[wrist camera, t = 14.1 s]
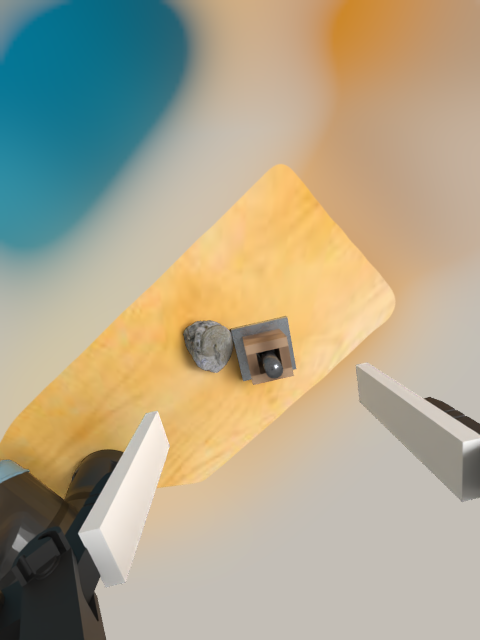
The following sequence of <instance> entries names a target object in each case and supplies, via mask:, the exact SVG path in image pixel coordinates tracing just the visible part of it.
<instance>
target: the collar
mask: <svg viewBox="0 0 480 640" xmlns="http://www.w3.org/2000/svg"><path fill="white" fill-rule="evenodd" d="M242 338H243V343H244V347H245V352H246V356H247V361H248V365H249V370H250V374H251V378H252V382H253V385H255V384H259V383H264V382H268V381H273V380H277V379H281V378H286V377H290V376H294V375H293V369H292V363H291V357H290V352H289V346H288V340H287V336H286V335H285V334H284V333H283V332H282V331H281V330H280V329H275V330H271V331H266V332H262V333H257V334H253V335H248V336H244V337H242ZM272 349H275V354H276V356H277V358H278V360H279V361H280V363H281V365H282V367H283V373H282V375H281V376H280V377H278V378H270V377H268V376H267V374H266V371H265V369H264V366H263V364H262V361H258V360H257V356H256V353H259V352H263V351H268V350H272Z"/></svg>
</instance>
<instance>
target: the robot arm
mask: <svg viewBox="0 0 480 640" xmlns="http://www.w3.org/2000/svg"><path fill="white" fill-rule="evenodd" d="M356 372H357V381H358V391H359V400H360V403H361V404H363V406H364V407H365V408H367V410H369V411H370V412H371V413H372V414H373V415H374V416H375V417H376V418H377V419H378V420H379V421H380V422H381V423H382V424H383V425H384V426H385V427H386V428H387V429H388V430H389V431H390V432H391V433H392V434H393V435H394V436H395V437H396V438H397V439H398V440H399V441H401V443H402V444H403V445H404V446H405V447H406V448H407V449H409V450H410V452H412V453H413V454H414V455H415V456H416V457H417V458H418V459H419V460H420V461H421V462H422V463H423V464H424V465H425V466H426V467H427V468H428V469H429V470H430V471H431V472H432V473H433V474H434V475H435V476H436V477H437V478H438V479H439V480H440V481H441V482H442V483H443V484H444V485H445V486H446V487H447V488H448V489H450V491H452V493H454V494H455V495H456V496H457V497H458V498H459V499H460V500H461V501H462V502H463V501H468V500H472V499H476V498H480V424H479V423H477V422H476V421H474V420H472V419H471V418H469V417H467V416H465V415H464V414H463V413H461V412H459V411H458V410H455V409H454V408H453V407H451V406H449V405H448V404H446V403H444V402H442V401H439V400H436V399H434V398H431V397H428V398H422V397H420V396H419V395H417V394H416V393H414V392H412V391H411V390H409V389H408V388H406V387H405V386H403V385H402V384H400V383H399V382H397V381H395V380H394V379H392V378H391V377H389V376H387V375H386V374H385V373H383V372H381V371H380V370H378V369H377V368H375V367H374V366H372V365H370V364H369V363H362V364H358V365H356ZM169 447H170V445H169V442H168V439H167V437H166V434H165V431H164V428H163V425H162V422H161V419H160V416H159V413H158V411H154V412H150V413H146V414H145V416H144V418H143V419H142V421H141V423H140V425H139V427H138V428H137V430H136V432H135V434H134V435H133V437H132V439H131V441H130V442H129V444H128V446H127V448H126V449H125V451H124V453H123V452H120V451H116V450H102V451H97V452H95V453H92V454H90V455H89V456H87V457H86V458H85V459H84V460H83V461H82V462H81V464H80V465H79V466H78V468H77V469H76V471H75V472H74V474H73V477H72V480H71V484H70V486H69V488H68V491H67V494H66V496H65V499H64V500H63V499H62V498H61V497H60V496H58V495H57V494H56V493H55V492H53V491H52V490H51V489H49V488H48V487H47V486H46V485H44V484H43V483H42V482H41V481H39V480H38V479H37V478H35V477H34V476H33V475H32V474H30V473H29V472H30V470H28V469H24V468H23V467H21V466H20V465H18V464H17V463H15V462H14V461H12V460H2V461H0V640H106V636H105V632H104V627H103V622H102V617H101V613H100V608H99V604H98V598H97V595H96V594H95V592H94V590H95V588H96V585H97V583H98V581H99V578H100V577H101V579H102V581H103V583H104V585H105V587H109V586H113V585H117V584H122V583H126V580H127V576H128V574H129V571H130V568H131V565H132V561H133V558H134V555H135V552H136V549H137V546H138V543H139V540H140V537H141V534H142V530H143V527H144V524H145V521H146V518H147V515H148V512H149V509H150V506H151V503H152V500H153V497H154V493H155V490H156V487H157V484H158V481H159V478H160V475H161V472H162V469H163V466H164V463H165V459H166V456H167V453H168V450H169Z"/></svg>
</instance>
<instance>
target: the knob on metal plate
mask: <svg viewBox="0 0 480 640" xmlns="http://www.w3.org/2000/svg"><path fill="white" fill-rule="evenodd" d="M275 329H280V330H281V331H282V332H283V333H284V334H285V335H286V336H287V340H288V346H289V352H290V357H291V363H292V369H293V370H294V369H296V365H295V359H294V354H293V348H292V342H291V336H290V331H289V325H288V319H287V317H286V316H284V317H280V318H276V319H271V320H267V321H262V322H258V323H254V324H249V325H245V326H240V327H236V328H232V329H231V332H232V336H233V340H234V344H235V349H236V353H237V357H238V361H239V366H240V370H241V374H242V378H243V381H246V380H251V379H252V378H251V374H250V370H249V365H248V361H247V356H246V352H245V347H244V343H243V338H242V337H244V336H248V335H253V334H257V333H262V332H266V331H271V330H275ZM256 356H257V360H258V361H262V364H263V366H264V369H265V371H266V374H267V376H268V377H270V378H278V377H280V376H281V375H282V373H283V367H282V365H281V363H280V361H279V360H278V358H277V356H276V354H275V349H272V350H268V351H263V352H259V353H256Z"/></svg>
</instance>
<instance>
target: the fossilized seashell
mask: <svg viewBox="0 0 480 640" xmlns="http://www.w3.org/2000/svg"><path fill="white" fill-rule="evenodd" d="M183 335H184V339H185V343H186V347H187V350H188V351H189V353H190V354H191V355H192V357H193V360H194V361H195V362H196V364H197V366H198V367H200V368H201V369H203V370H210V371H211V372H216V373H217V372H219V371H220V370H221V369H222V368H223V367H224V365H226V364H227V362H228V361H229V359H230V357H231V353H232V350H233V337H232V333H231V332H230V331H229V330H228V329H227V328H226V327H224V326H222V325H220V324H219V323H217V322H214V321H211V320H209V321H197V322H195V323H193V324H192V325H191V326H188V327H187V328H186V329H185V331H184V333H183Z"/></svg>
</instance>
